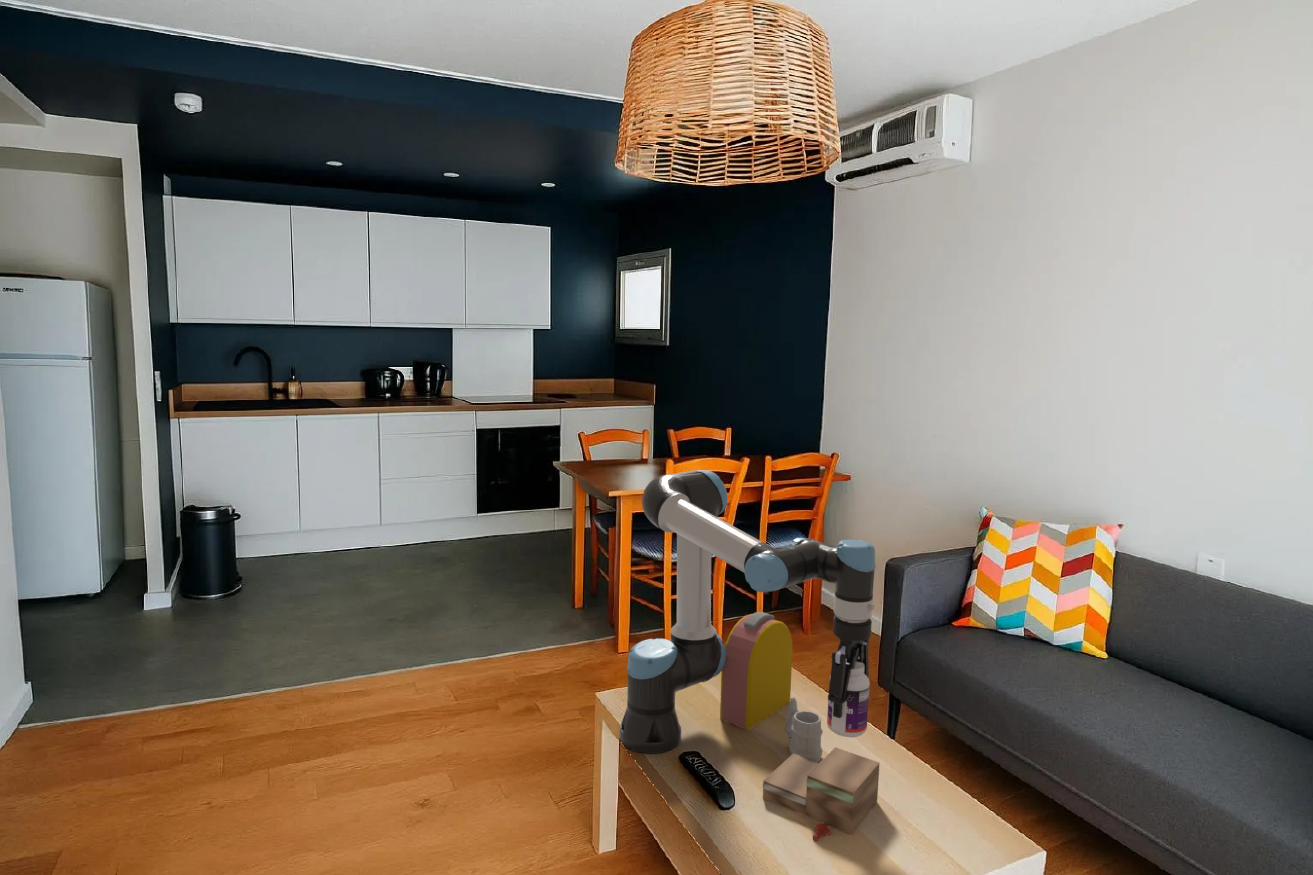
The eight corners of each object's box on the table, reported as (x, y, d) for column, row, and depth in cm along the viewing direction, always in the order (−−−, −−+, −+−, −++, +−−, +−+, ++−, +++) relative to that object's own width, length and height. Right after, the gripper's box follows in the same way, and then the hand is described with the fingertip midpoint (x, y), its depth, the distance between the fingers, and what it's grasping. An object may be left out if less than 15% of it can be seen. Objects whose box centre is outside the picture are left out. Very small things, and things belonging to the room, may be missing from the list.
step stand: (748, 811, 163) (750, 771, 162) (792, 769, 179) (794, 732, 178) (838, 850, 151) (841, 807, 150) (877, 801, 167) (879, 762, 166)
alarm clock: (762, 690, 218) (766, 599, 215) (791, 701, 212) (795, 607, 209) (718, 718, 202) (721, 620, 199) (748, 730, 197) (752, 629, 193)
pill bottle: (818, 728, 163) (822, 662, 161) (841, 716, 168) (845, 652, 166) (851, 743, 157) (855, 675, 155) (874, 731, 162) (878, 664, 160)
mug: (801, 768, 180) (804, 719, 178) (772, 743, 190) (774, 696, 189) (828, 760, 183) (831, 712, 181) (798, 737, 194) (800, 691, 192)
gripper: (849, 636, 148) (843, 748, 152) (889, 606, 165) (882, 708, 168) (813, 627, 153) (808, 736, 156) (855, 599, 170) (849, 698, 173)
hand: (846, 721), depth 162 cm, fingers closed on pill bottle, 8 cm apart
